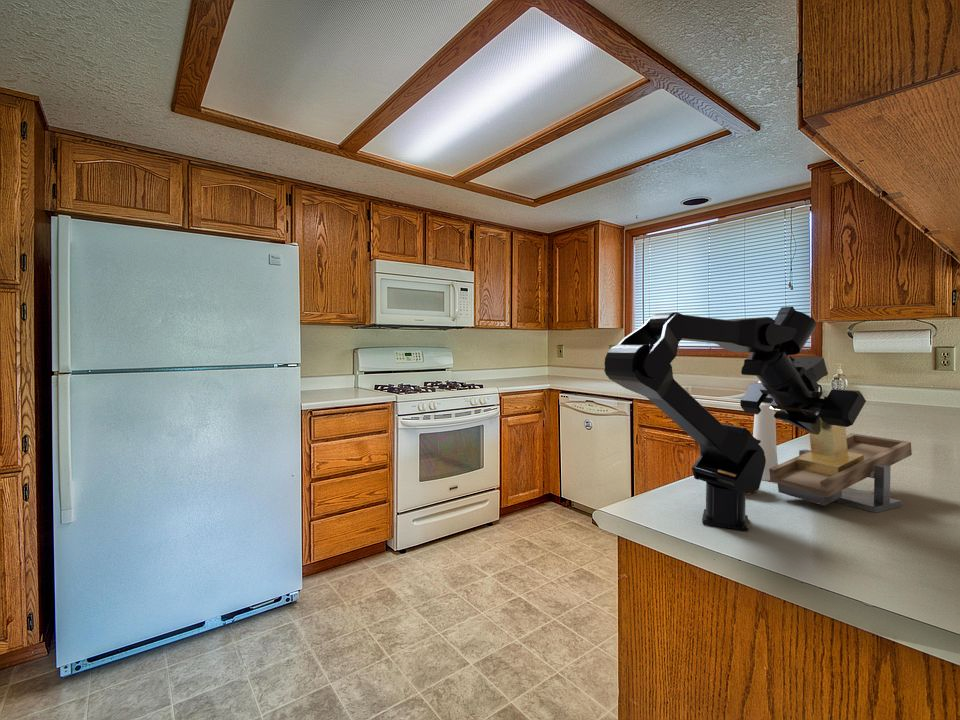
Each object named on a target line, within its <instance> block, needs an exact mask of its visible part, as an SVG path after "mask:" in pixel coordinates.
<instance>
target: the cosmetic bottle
mask: <svg viewBox="0 0 960 720" xmlns="http://www.w3.org/2000/svg"><path fill="white" fill-rule="evenodd" d="M757 383H761V381H760V380H758V381H757ZM759 407H760V409H761V411H760V413H759V414H753V415H754V418H753V429H752V431H753V434H752V435H753V437H754V438H756V439H757V440H760V441H761V442H760V443H759V445H760V446H761V447H762V449H763V450H764V453H765V454H764V455H765V458H766V464H765V468H764V472H763V476H762V480H761V481H765V482H766V481H767V482H771V481H770V472H769V469H770V468H772V467H774V466H777V465H779V461H778V450H777V430H776V429H777V425H776V424H777V423H776V422H777V421H776V418H774V414H775V412H774V410H771V409H770V407H771V403H764V402H762V403H761V404H760V406H759Z"/></svg>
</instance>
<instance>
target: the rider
mask: <svg viewBox="0 0 960 720" xmlns="http://www.w3.org/2000/svg"><path fill="white" fill-rule="evenodd" d="M820 425H821V431H820V433H819V435H816V434H812V433H810V432H808V434H809V442H810V450H811V453H809V454H807V455H804V456H802V457H800V458H798V459H797V462H798V469H801V470H806V471H810V472H815V473H819V474H823V475H828V476H833V475H835V474H837V473H839V472H841V471H843V470H845V469H847V468H849V467H852V466H854V465H856V464H858V463H860V462H862V461H864V455H862V454H857V453H851V452H848V449H847V438H846V435H847V430H846V428H847V427H843V426H836V425H829V424H828V423H826V422H824V421H822V419H821V418H820Z"/></svg>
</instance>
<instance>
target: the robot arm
mask: <svg viewBox="0 0 960 720" xmlns="http://www.w3.org/2000/svg"><path fill="white" fill-rule="evenodd" d="M816 328H817V323H816V320H815V318H813V317H811V316H810V315H808V314H806V313H804V312H801V311H797V310H795V307H794V306H785V307H784V306H783V307H780V309H779V310H778V312H777V314H776V316H775V317H774V319H773V318H772V317H770V316H763V317H762V316H761V317H759V316H758V317H748V318H747V317H746V318H733V319H721V318H716V317H715V318H714V317H704V316H696V315H689V314H688V315H687V314H682V313H680V312H665V313H662V312H661V313H655V314H653V315H652V316H650V317H649V318H648V319H647V320H645V322H644V323H643V324H642V325H641V326H640V327H639V328H637V329H635V330H633V331H632V332H630V333H629V334H628V335H626V336H625V337H624V338H622V339H621V340H620V342H618V343H617V344H616V345H614V346H612V347H611V348H609V350H608V351H607V353H606V355H605V358H604V374H605V376H606V377H607V378H608V379H609V380H610V381H612V382H614V383H615V384H617V385H619V386H621V387H623V388H624V389H626V390H629V391H631V392H633V393H636V394H639V395H641V396H643V397H646V399H648V401H650V402H651V403H652V404H653V405H654V406H656V407H657V408H658V409H659V410H660V411H661V412H662V413H663V414H665V415H666V416H667V418H669V419H671V420H672V421H673V422H674V423H675V424H676V425H677V426H678V427H679V428H681V429H682V430H683V431H684V432H685V433H686V434H687V435H688V436H690V438H692V439H693V440H694V441H695V442H696V443H698V445H699V453H700V455H699V457H698V458H697V460H696V462H695V463H693V465H692V467H691V470H692V471H691V472H692V474H693V478H694V479H695V480H699V481H702V482H705V508H704V509H703V512H702V513H703V514H702V521H701V523H702V524H703V525H709V526H715V527H720V528H727V529H733V530H738V531H739V530H741V531H746V532H747V531H749V529H750V528H749V517H748V514H746V498H747V497H746V495H747V494H746V492H747V491H753V490H759V489H760V488H761V487H760V486H761V482H762V481H763V480H762V476H763V472H764V468H765V464H766V458H765V455H764V454H765V453H764V450H763V449H762V447H761V446H760V445H759V443H760V442H761V441H760V440H757V439H756V438H754V437H753V434H752V433H751V431H750V430H749V429H748V428H746V427H744V426H743V427H742V426H737V425H736V426H735V425H731V424H726V423H721V422H720V421H719V420H718V419H717V418H716V417H715V416H713V414H712V413H711V412H709V410H708V409H706V408H705V407H704V406H703V405H702V404H701V403H700V402H698V400H697V399H696V398H694V397H693V396H692V395H691V394H690V392H688V391H687V390H686V389H685V388H684V387H683V386H682V385H681V384H680V383H678V381H677V380H675V378H674V374H673V366H672V364H671V363H672V362H673V360H674V359H676V357H677V355H678V354H677V353H678V348H679V345H680V344H679V343H680V342H681V341H685V342H697V343H698V342H699V343H707V344H714V345H718V346H719V347H720V349H723V350H725V351H726V350H727V351H730V352H732V353H733V352H734V353H750V354H749V355H748V357H747V358H745V359H744V360H743V364H742V365H743V366H742V367H741V370H740V372H741V375H742V376H756V377H757V379H758V381H761V383H758V382H751V384H750V385H749V387H748V388H747V390H746V392H745V393H744V394H743V396H742V397H741V399H740V401H739V406H740V407H741V409H742V410H743V412H744V413H745V414H750V415H751V414H752V415H754V414H759V413H760V411H761V409H760V407H759V406H760V404H761V403H762V402H764V403H771V407H770V409H771V410H774V412H775V414H774V418H775V420H780V421H782V422H785V423H787V424H790V425H792V426H794V427H796V428H798V429H801V430H804V431H806V432H807V433H809V432H810V433H812V434H816V435H819V433H820V431H821V425H820V418H821V419H822V421H824V422H826V423H828V424H829V425H836V426H843V427H845V428H848V427H851V426H853V425H854V424H855V421H856V420H857V418H858V416H859V414H860V413H861V411H862V409H864V406H865V404H866V402H867V401H866V398H865V397H864V395H863V394H862V392H861V391H860V390H857V389H855V390H853V389H841V388H832V389H831V390H830V391H829V393H828V395H827V396H824V392H823V391H818V389H819V388H820V385H819V381H820V380H822V379H823V378H824V377H827V376H828V375H829V372H828V369H827V365H826V362H825V358H824V357H822V356H799V357H792V356H794V355H798V354H800V353H801V351H802V350H803V349H804V347H805V345H806V344H807V342H808V340H809V339H810V337H811V336H812V334H813V333H814V331H815V330H816ZM718 470H720V471H724V472H727V473H731V474H734V475H736V476H735V477H734V476H730V475H727V474H723V473H720V472H718Z"/></svg>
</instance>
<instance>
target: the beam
mask: <svg viewBox="0 0 960 720" xmlns="http://www.w3.org/2000/svg"><path fill="white" fill-rule="evenodd" d="M846 438H847V449H848V452H851V453H857V454H862V455H864V461H862V462H860V463H858V464H856V465H854V466H852V467H849V468H847V469H845V470H843V471H841V472H839V473H837V474H835V475H833V476H828V475H823V474H819V473H815V472H810V471H806V470H801V469H798V462H797V459H798V458H800V457H802V456H804V455H807V454H809V453H811V451H809V452H807V453H804V454H802V455H800V456H799V455H798V456H796V457H794V458H791V459H788V460H786V461H784V462H782V463H780V464H779V463H778V465H777V466H774V467H772V468H770V469H769V472H770V481H769V482H772V483H775V484H777V490H778V493H780V494H783V495H787V496H791V497H793V498H796V499H801V500H804V501H807V502H811V503H814V504H818V505H821V506H827V505H828V504H831V503H832V502H835V500H836V499H838V498H840V497H842V490H843V489H845V488H847V487H848V488H850V487H851V486H853V485H855V484H857V483H859V482H861V481H863V480H865V479H867V478H870V479H874V473H875V465H879V464H883V465H888V466H891V467H892V466H893V465H894V464H896V463H899V462H901V461H902V460H905V459H907V458H908V457H911V456H912V455H913V451H912V442H911V441H907V440H906V441H905V440H899V439H898V440H897V439H891V438H887V437H886V438H884V437H879V436H873V435H867V434H860V433H849V434H846Z"/></svg>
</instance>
